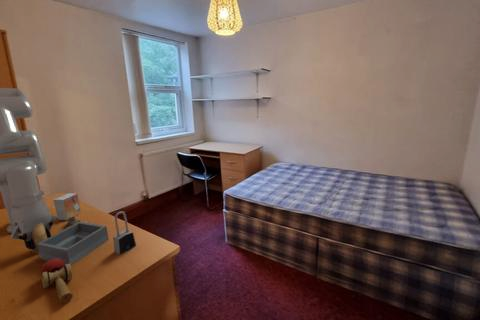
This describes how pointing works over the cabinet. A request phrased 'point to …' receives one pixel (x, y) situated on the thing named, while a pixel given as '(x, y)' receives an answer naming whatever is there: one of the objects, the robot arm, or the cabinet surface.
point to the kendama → (57, 277)
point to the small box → (67, 206)
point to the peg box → (73, 242)
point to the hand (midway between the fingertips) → (39, 243)
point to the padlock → (123, 238)
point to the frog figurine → (72, 222)
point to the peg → (38, 236)
